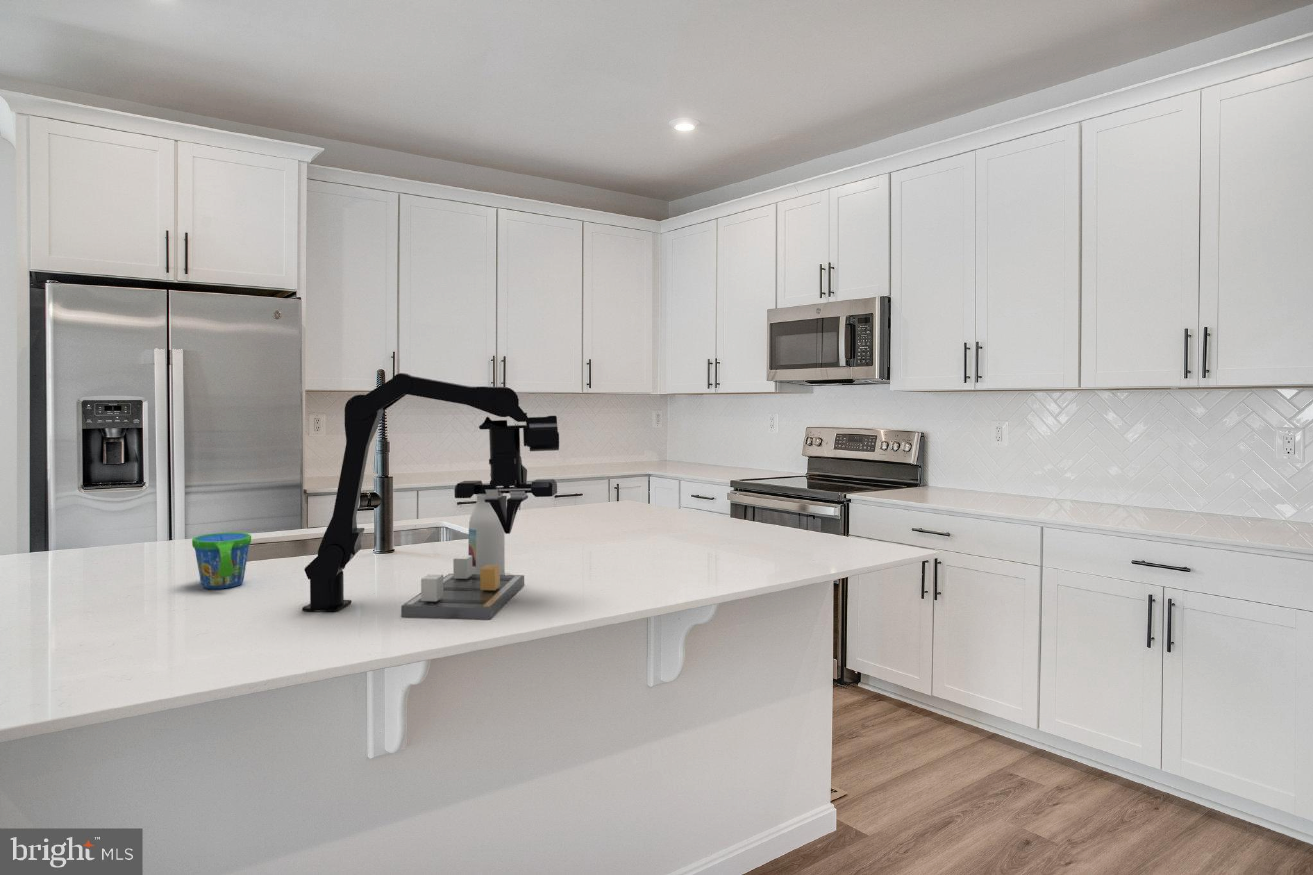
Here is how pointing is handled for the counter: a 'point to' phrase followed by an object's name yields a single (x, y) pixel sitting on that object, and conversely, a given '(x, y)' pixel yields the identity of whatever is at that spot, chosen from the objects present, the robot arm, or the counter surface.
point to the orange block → (490, 577)
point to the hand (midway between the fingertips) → (507, 533)
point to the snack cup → (221, 559)
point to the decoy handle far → (462, 566)
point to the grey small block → (431, 587)
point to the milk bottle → (485, 537)
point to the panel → (465, 599)
